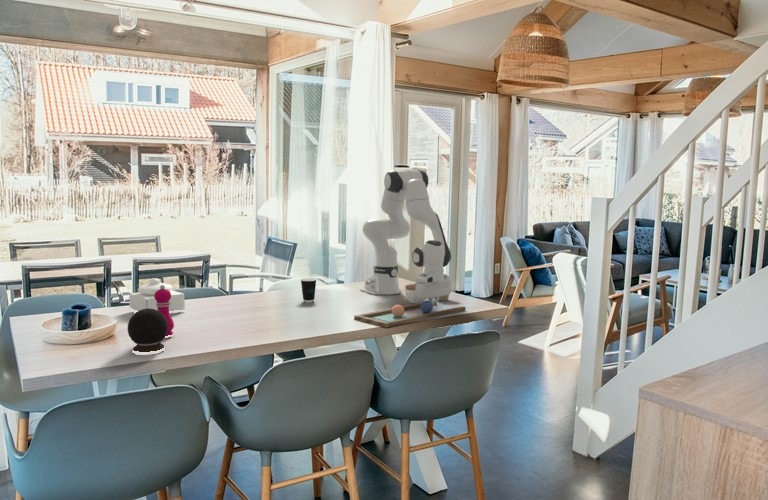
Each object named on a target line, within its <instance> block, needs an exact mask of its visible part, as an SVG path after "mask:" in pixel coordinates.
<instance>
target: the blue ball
mask: <svg viewBox="0 0 768 500" xmlns="http://www.w3.org/2000/svg"><path fill="white" fill-rule="evenodd" d="M433 308H434V307H433V305H432V303H431V302H430V301H429V300H424V301H423V302H422V303H421V306H420V308H419V309H420V310H421V311H422V312H423V314H427V313H432V311H433Z"/></svg>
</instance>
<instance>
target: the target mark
mask: <svg viewBox="0 0 768 500" xmlns="http://www.w3.org/2000/svg"><path fill="white" fill-rule="evenodd" d="M408 317H413V316H412V315H407V314H405V313H404V314H403V316H401V317H395V316H394V315H393V314H392V313H391V314H386V315H380V316H375V317H371V318H372V319H376V320H380V321H384V322H389V321H394V320H398V319H403V318H408Z"/></svg>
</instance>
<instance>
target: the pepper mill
mask: <svg viewBox="0 0 768 500" xmlns="http://www.w3.org/2000/svg"><path fill="white" fill-rule="evenodd" d="M154 298H155V300H156V301H157V302H156V306H157V308H158V311H159V312H161V313H162V314H163V315H164V316H165V318H166V320H167V323H168V331H167V334H166V336H168V335H172V334H173V335H174V332H173V331H172V330H173V329H174V328H175V323H174V320H173V318H172V316H171V315H170V313H169V306H170V301H169V300H170V299H171V293H170V291H169V290H167V289H165V286H164V285H161V286H160V290H157V291H156V292H155V295H154Z"/></svg>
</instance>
